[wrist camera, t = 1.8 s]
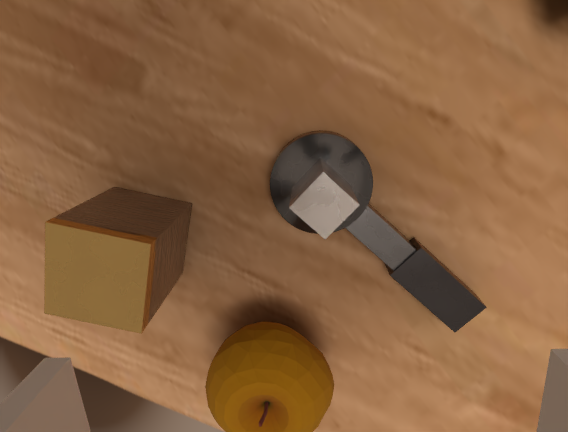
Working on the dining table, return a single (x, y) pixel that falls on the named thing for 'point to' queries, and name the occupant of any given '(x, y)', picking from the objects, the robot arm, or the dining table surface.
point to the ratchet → (361, 219)
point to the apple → (268, 381)
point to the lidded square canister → (115, 258)
